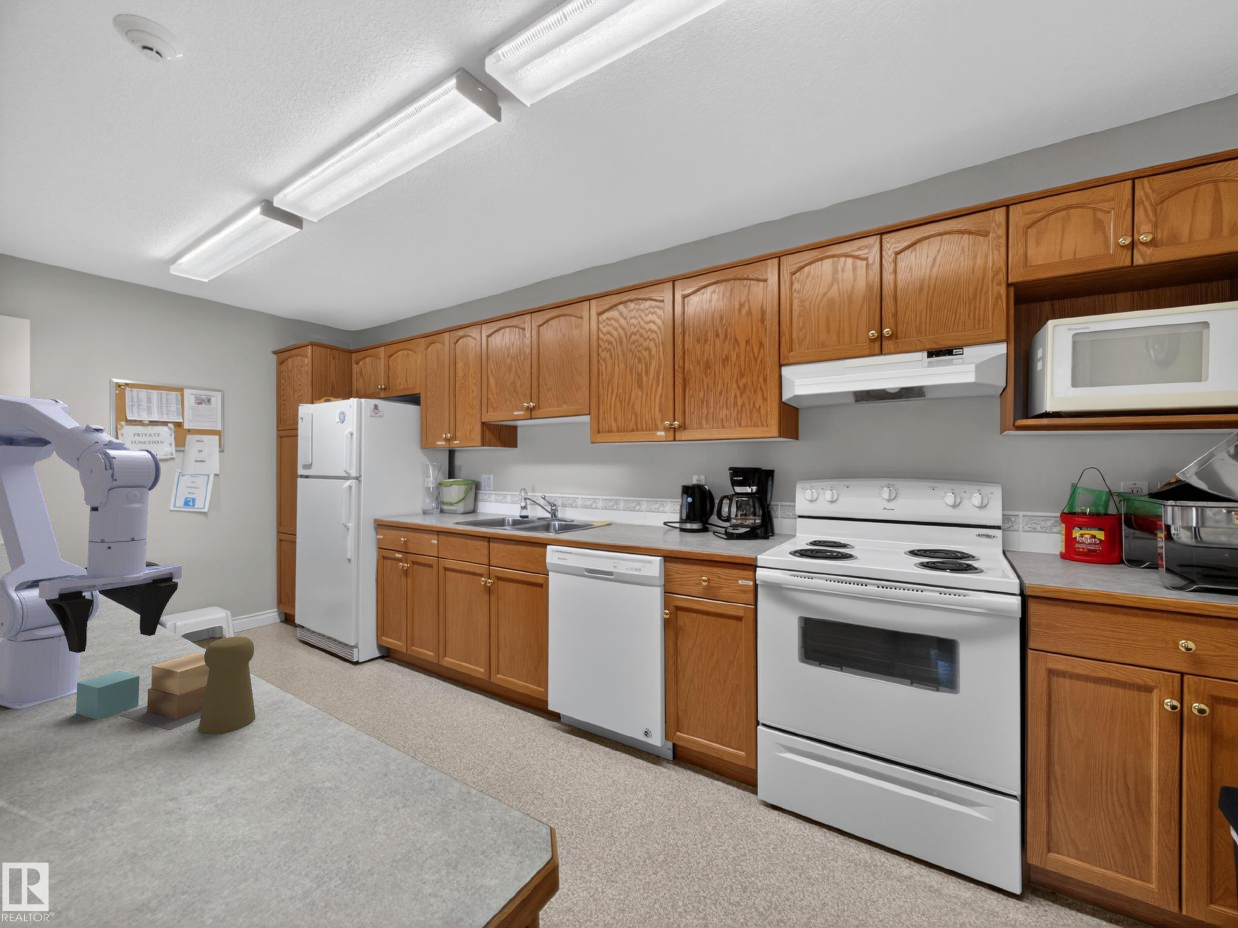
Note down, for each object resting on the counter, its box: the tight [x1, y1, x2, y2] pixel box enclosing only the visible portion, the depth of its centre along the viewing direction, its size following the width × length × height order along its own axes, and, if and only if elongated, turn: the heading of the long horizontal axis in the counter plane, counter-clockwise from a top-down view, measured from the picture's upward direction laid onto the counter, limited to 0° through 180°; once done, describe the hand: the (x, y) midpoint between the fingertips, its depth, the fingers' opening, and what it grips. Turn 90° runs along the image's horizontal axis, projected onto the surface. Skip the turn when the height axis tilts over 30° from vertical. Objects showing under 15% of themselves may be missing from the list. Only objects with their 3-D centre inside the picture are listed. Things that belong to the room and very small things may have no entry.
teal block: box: [75, 670, 140, 720], centre depth 72 cm, size 4×4×4 cm
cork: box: [197, 636, 256, 735], centre depth 69 cm, size 6×6×11 cm
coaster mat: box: [119, 705, 202, 731], centre depth 73 cm, size 10×10×1 cm
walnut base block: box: [146, 686, 206, 720], centre depth 73 cm, size 6×6×3 cm
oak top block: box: [150, 652, 209, 695], centre depth 73 cm, size 6×6×3 cm
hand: (114, 642), depth 72 cm, fingers open, 7 cm apart
